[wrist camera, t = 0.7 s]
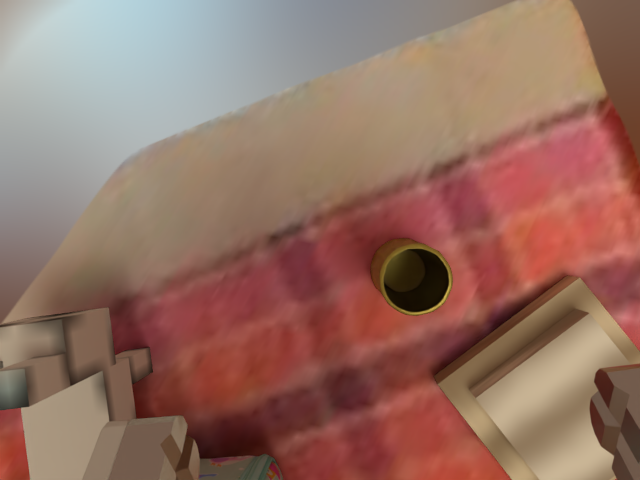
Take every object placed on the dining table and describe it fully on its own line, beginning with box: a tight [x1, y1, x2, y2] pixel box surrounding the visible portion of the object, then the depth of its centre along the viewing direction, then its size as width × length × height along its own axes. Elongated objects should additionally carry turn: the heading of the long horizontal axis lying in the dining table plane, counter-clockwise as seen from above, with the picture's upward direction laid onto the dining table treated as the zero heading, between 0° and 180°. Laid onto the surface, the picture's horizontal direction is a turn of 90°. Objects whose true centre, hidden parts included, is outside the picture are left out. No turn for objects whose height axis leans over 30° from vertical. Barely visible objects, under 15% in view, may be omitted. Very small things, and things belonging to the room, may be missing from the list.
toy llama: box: [0, 307, 153, 480], centre depth 46 cm, size 8×18×20 cm, turn 8°
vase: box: [371, 238, 453, 316], centre depth 46 cm, size 6×6×14 cm
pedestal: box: [433, 275, 640, 480], centre depth 49 cm, size 16×16×6 cm
